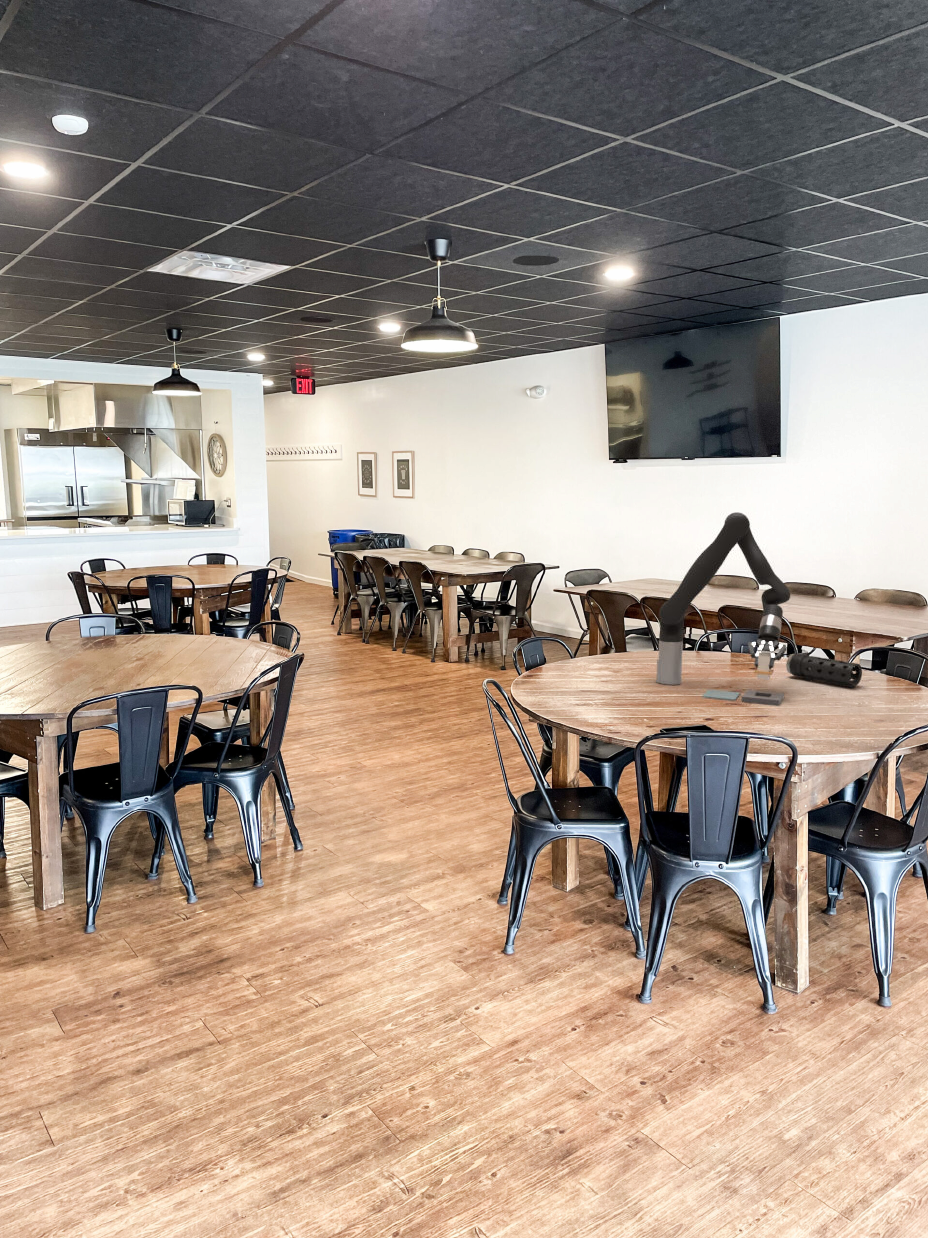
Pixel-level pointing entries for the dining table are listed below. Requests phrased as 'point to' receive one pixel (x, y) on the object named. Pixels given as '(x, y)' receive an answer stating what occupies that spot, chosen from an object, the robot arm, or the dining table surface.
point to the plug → (763, 665)
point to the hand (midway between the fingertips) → (763, 667)
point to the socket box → (763, 697)
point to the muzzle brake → (824, 670)
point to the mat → (721, 695)
